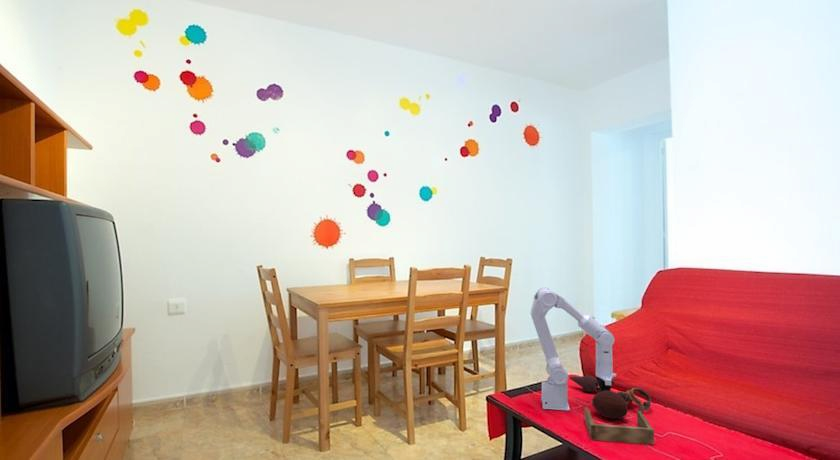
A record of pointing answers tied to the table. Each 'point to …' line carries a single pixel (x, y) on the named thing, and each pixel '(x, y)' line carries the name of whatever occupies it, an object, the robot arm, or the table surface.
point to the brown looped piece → (634, 399)
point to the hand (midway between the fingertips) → (604, 398)
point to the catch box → (621, 430)
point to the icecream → (587, 383)
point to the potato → (610, 404)
